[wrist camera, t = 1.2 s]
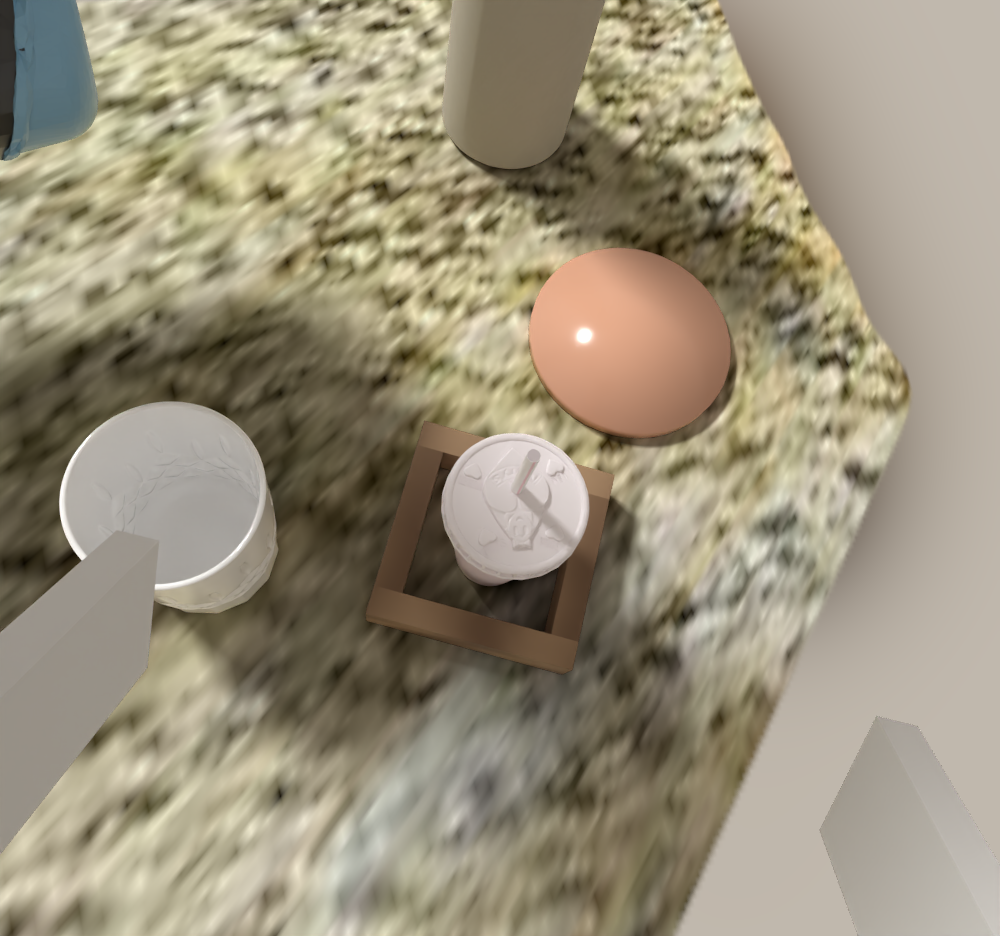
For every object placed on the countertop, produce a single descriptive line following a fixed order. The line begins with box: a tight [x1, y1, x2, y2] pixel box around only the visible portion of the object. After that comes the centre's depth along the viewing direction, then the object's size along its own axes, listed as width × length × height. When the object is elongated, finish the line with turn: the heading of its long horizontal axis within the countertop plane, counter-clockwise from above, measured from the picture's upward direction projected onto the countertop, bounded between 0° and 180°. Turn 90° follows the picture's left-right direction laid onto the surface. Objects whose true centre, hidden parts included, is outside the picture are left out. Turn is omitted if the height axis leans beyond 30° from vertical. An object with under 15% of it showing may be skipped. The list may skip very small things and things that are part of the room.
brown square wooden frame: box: [366, 421, 614, 674], centre depth 44 cm, size 10×10×2 cm
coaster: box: [528, 248, 731, 438], centre depth 50 cm, size 12×12×1 cm
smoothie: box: [441, 433, 589, 586], centre depth 39 cm, size 6×6×14 cm
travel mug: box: [442, 0, 605, 169], centre depth 46 cm, size 8×8×18 cm
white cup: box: [59, 402, 278, 613], centre depth 39 cm, size 8×8×10 cm
